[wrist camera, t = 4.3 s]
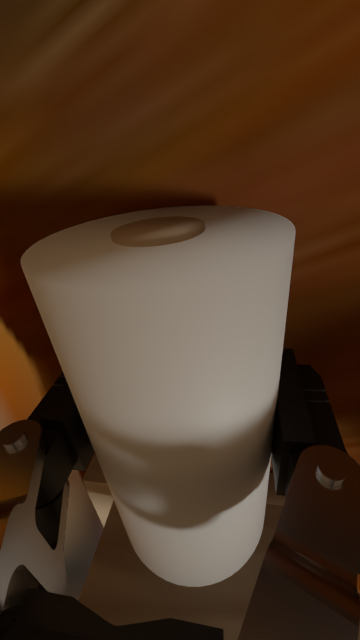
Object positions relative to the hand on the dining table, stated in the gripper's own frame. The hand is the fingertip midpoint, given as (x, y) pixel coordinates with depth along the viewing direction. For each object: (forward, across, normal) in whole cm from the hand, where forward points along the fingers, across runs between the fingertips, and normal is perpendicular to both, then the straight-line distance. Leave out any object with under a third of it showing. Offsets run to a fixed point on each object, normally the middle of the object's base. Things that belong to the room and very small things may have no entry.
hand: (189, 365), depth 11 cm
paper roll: (-2, 0, 0) cm, 2 cm away
